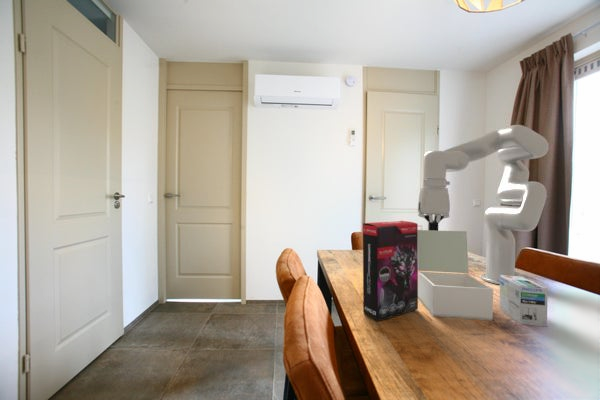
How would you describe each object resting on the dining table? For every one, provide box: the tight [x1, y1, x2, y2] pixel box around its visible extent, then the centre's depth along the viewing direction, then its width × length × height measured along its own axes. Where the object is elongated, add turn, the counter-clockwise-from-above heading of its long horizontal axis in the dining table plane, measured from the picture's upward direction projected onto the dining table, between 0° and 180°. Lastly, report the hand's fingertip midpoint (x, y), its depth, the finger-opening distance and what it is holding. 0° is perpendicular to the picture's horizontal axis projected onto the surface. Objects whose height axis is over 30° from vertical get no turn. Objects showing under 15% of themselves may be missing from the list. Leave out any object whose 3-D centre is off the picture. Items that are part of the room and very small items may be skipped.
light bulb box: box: [498, 275, 549, 327], centre depth 75 cm, size 11×7×11 cm, turn 168°
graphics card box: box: [362, 220, 419, 322], centre depth 77 cm, size 17×7×27 cm, turn 117°
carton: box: [418, 271, 494, 321], centre depth 80 cm, size 16×14×9 cm
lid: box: [418, 229, 469, 274], centre depth 88 cm, size 16×14×1 cm
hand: (433, 232), depth 96 cm, fingers closed
